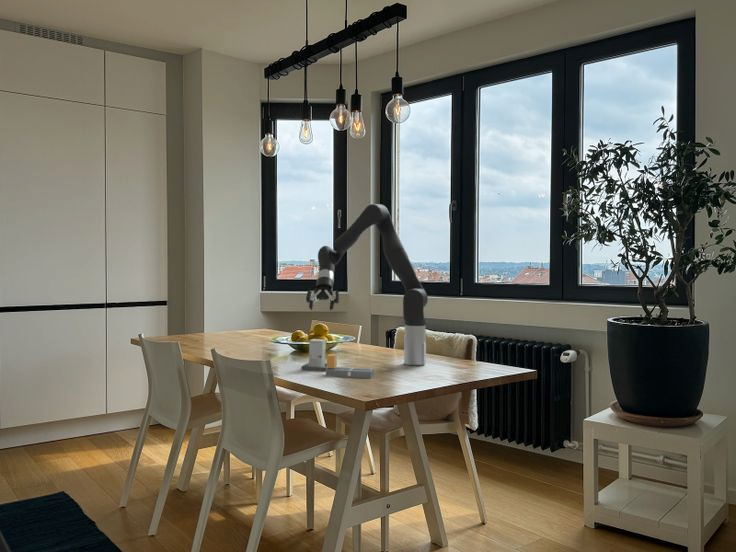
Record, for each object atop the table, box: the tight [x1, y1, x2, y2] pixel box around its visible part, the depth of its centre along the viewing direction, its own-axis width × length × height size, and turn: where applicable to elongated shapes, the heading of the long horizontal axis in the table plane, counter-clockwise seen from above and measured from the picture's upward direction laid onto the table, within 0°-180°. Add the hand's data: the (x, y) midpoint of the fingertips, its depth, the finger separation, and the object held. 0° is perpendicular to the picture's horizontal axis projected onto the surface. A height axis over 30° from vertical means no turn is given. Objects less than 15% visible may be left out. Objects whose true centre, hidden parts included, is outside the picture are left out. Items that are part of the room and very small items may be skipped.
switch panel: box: [325, 366, 375, 379], centre depth 257 cm, size 18×7×3 cm, turn 78°
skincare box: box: [308, 338, 327, 367], centre depth 272 cm, size 6×4×12 cm
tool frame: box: [300, 362, 328, 372], centre depth 272 cm, size 11×11×2 cm
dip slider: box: [326, 353, 338, 368], centre depth 258 cm, size 3×4×5 cm
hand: (321, 308), depth 283 cm, fingers open, 8 cm apart
